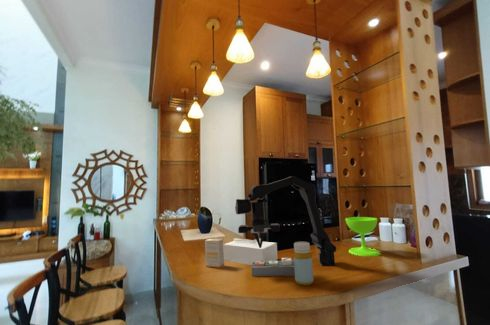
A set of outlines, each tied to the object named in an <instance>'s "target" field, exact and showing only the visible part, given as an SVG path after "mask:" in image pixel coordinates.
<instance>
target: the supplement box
mask: <svg viewBox="0 0 490 325" xmlns="http://www.w3.org/2000/svg"><path fill="white" fill-rule="evenodd" d="M223 244H224V239H223V238H207V239H205V240H204V246H205V247H204V249H205V268H206V267H207V268H217V269H218V268H219V269H220V268H222V267H224V266H225V260H224V250H223Z"/></svg>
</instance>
